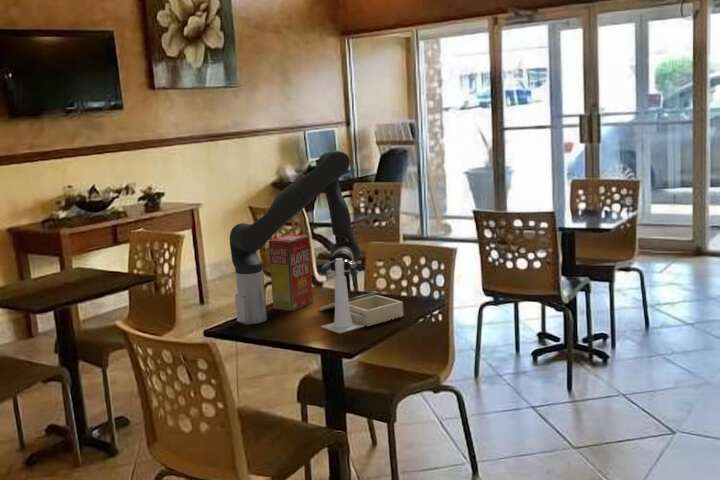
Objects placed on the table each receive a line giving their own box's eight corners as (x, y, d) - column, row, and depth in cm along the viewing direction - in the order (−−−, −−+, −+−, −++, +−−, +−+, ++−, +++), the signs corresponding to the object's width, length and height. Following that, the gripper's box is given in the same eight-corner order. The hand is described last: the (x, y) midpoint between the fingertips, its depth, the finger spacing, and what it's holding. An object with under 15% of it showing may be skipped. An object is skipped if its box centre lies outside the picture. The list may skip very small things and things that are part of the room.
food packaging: (293, 311, 273) (287, 241, 268) (271, 309, 278) (266, 240, 273) (314, 302, 284) (310, 234, 279) (293, 299, 289) (288, 233, 284)
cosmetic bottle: (348, 321, 255) (344, 256, 251) (355, 326, 249) (351, 259, 246) (331, 324, 253) (326, 258, 249) (338, 329, 247) (333, 261, 243)
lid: (319, 307, 272) (320, 309, 272) (339, 300, 261) (340, 303, 261) (352, 299, 280) (353, 301, 280) (373, 292, 270) (374, 294, 270)
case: (365, 326, 249) (364, 309, 248) (338, 318, 261) (336, 301, 260) (403, 316, 259) (402, 299, 258) (375, 308, 271) (374, 291, 270)
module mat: (339, 333, 244) (339, 332, 244) (321, 327, 252) (321, 326, 252) (364, 326, 250) (364, 325, 250) (346, 320, 258) (346, 319, 258)
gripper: (320, 250, 261) (315, 260, 245) (362, 249, 260) (360, 258, 244) (321, 272, 262) (316, 283, 246) (363, 271, 262) (361, 282, 246)
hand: (338, 271), depth 245 cm, fingers open, 8 cm apart
